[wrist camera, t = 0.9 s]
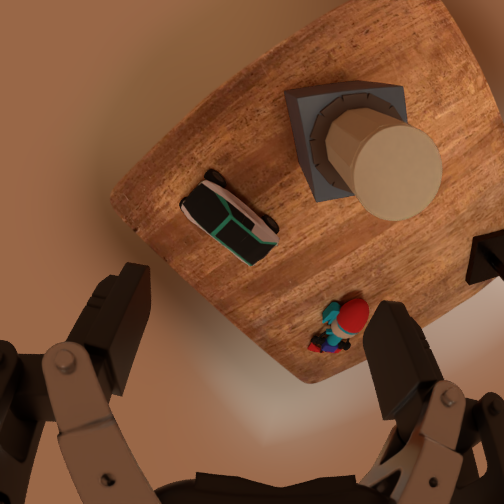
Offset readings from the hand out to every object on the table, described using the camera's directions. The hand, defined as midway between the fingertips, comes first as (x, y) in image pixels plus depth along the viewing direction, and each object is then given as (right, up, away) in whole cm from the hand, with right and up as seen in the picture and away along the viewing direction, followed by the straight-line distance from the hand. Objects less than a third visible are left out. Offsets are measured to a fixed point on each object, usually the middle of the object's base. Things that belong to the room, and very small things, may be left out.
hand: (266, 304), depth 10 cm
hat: (+8, +10, +13) cm, 18 cm away
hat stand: (+41, +1, +32) cm, 52 cm away
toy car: (-3, +7, +29) cm, 30 cm away
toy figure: (+14, -10, +40) cm, 43 cm away
